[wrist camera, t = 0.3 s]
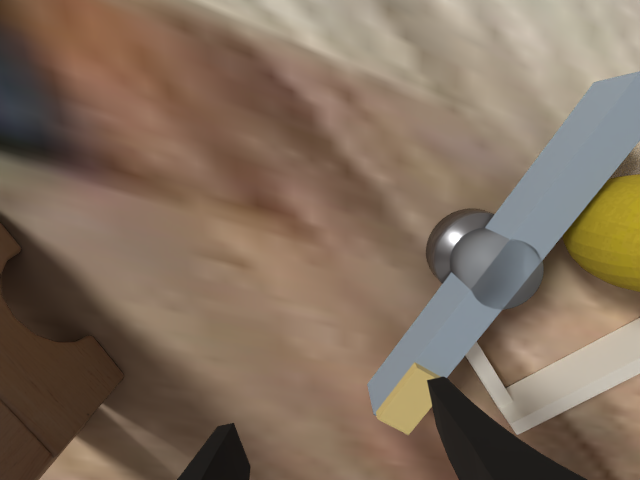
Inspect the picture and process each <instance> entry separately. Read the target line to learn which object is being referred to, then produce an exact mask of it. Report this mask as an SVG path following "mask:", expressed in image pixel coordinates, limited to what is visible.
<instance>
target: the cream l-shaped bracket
mask: <svg viewBox="0 0 640 480" xmlns="http://www.w3.org/2000/svg"><path fill="white" fill-rule="evenodd" d="M465 356H466V358H467V359H468V361H469V363H470V364H471V366H472V367H473V369H474V371H475V372H476V374H477V375H478V377H479V379H480V380H481V382H482V383H483V385H484V386H485V388H486V390H487V391H488V393H489V394H490V396H491V398H492V399H493V401H494V402H495V404H496V406H497V407H498V409H499V410H500V411H501V413H502V414H503V416H504V417H505V419H506V420H507V421H508V423H509V424H510V426H511V427H512V429H513V430H514V432H515V433H516V434H517V435H518V434H520V433H522V432H524V431H526V430H528V429H530V428H532V427H534V426H536V425H538V424H540V423H542V422H544V421H546V420H548V419H550V418H552V417H554V416H556V415H558V414H560V413H562V412H564V411H566V410H568V409H570V408H572V407H574V406H576V405H578V404H580V403H582V402H584V401H586V400H588V399H590V398H592V397H594V396H596V395H598V394H600V393H602V392H604V391H606V390H608V389H610V388H612V387H614V386H616V385H618V384H620V383H622V382H624V381H626V380H628V379H630V378H632V377H634V376H636V375H638V374H640V318H638V319H636V320H634V321H632V322H631V323H629V324H627V325H625V326H623V327H621V328H619V329H617V330H615V331H613V332H612V333H610V334H608V335H606V336H604V337H602V338H600V339H598V340H596V341H594V342H593V343H591V344H589V345H587V346H585V347H583V348H581V349H579V350H577V351H575V352H573V353H572V354H570V355H568V356H566V357H564V358H562V359H560V360H558V361H556V362H554V363H553V364H551V365H549V366H547V367H545V368H543V369H541V370H539V371H537V372H535V373H534V374H532V375H530V376H528V377H526V378H524V379H522V380H520V381H518V382H516V383H515V384H513V385H511V386H509V387H507V388H505V387H504V385H503V384H502V382H501V381H500V379H499V377H498V376H497V374H496V372H495V371H494V369H493V367H492V366H491V364H490V363H489V361H488V359H487V358H486V356H485V354H484V353H483V351H482V349H481V348H480V346H479V345H478V343H477V341H476V343H475V344H474V345H473V346H472V347H471V349H470V350H469V351H468V352H467V354H466V355H465Z"/></svg>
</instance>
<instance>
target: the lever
mask: <svg viewBox="0 0 640 480" xmlns="http://www.w3.org/2000/svg"><path fill="white" fill-rule="evenodd" d="M639 141H640V71H639V72H635V73H631V74H627V75H622V76H618V77H614V78H610V79H606V80H602V81H597V82H594V83H593V84H592V86H591V87H590V88H589V90H588V91H587V92H586V94H585V95H584V96H583V98H582V99H581V100H580V102H579V103H578V104H577V106H576V107H575V108H574V110H573V111H572V112H571V114H570V115H569V116H568V118H567V119H566V120H565V122H564V123H563V124H562V126H561V127H560V128H559V130H558V131H557V132H556V134H555V135H554V136H553V138H552V139H551V140H550V142H549V143H548V144H547V146H546V147H545V148H544V150H543V151H542V152H541V154H540V155H539V156H538V158H537V159H536V160H535V162H534V163H533V164H532V166H531V167H530V168H529V170H528V171H527V172H526V174H525V175H524V176H523V178H522V179H521V180H520V182H519V183H518V184H517V186H516V187H515V188H514V190H513V191H512V192H511V194H510V195H509V196H508V198H507V199H506V200H505V202H504V203H503V204H502V206H501V207H500V208H499V210H498V211H497V212H496V214H495V215H494V216H493V218H492V219H491V220H490V222H489V223H488V224H487V226H486V227H485V228H479V229H475V230H472V231H470V232H468V233H467V234H465V235H464V236H462V237H461V238H460V239H459V240H458V241H457V243H456V244H455V246H454V247H453V249H452V252H451V255H450V269H451V273H450V275H449V276H448V277H447V279H446V280H445V281H444V283H443V284H442V285H441V287H440V288H439V289H438V291H437V292H436V293H435V295H434V296H433V297H432V299H431V300H430V301H429V303H428V304H427V305H426V307H425V308H424V309H423V311H422V312H421V313H420V315H419V316H418V317H417V319H416V320H415V321H414V323H413V324H412V325H411V327H410V328H409V329H408V331H407V332H406V333H405V335H404V336H403V337H402V339H401V340H400V341H399V343H398V344H397V345H396V347H395V348H394V349H393V351H392V352H391V353H390V355H389V356H388V357H387V359H386V360H385V361H384V363H383V364H382V365H381V367H380V368H379V369H378V371H377V372H376V373H375V375H374V376H373V377H372V379H371V380H370V381H369V383H368V384H367V385H368V390H369V395H370V399H371V404H372V409H373V413H374V415H375V416H377V419H378V420H380V421H382V422H384V423H386V424H388V425H390V426H392V427H394V428H396V429H398V430H399V431H401V432H403V433H405V434H407V435H409V434H410V433H411V431H412V430H413V429H414V428H415V427H416V425H417V424H418V423H419V422H420V420H421V419H422V418H423V417H424V416H425V414H426V413H427V412H428V411H429V409H430V408H431V407H432V402H431V398H430V393H429V388H428V383H427V380H430V379H434V378H439V377H443V376H444V377H446V378H447V377H448V376H449V375H450V373H451V372H452V371H453V370H454V368H455V367H456V366H457V365H458V363H459V362H460V361H461V360H462V359H463V357H464V356H465V355H466V354H467V352H468V351H469V350H470V349H471V347H472V346H473V345H474V344H475V343H476V341H477V340H478V339H479V338H480V336H481V335H482V334H483V333H484V331H485V330H486V329H487V328H488V327H489V325H490V324H491V323H492V322H493V320H494V319H495V318H496V317H497V315H498V314H499V313H500V312H501V311H502V309H509V308H513V307H516V306H518V305H520V304H522V303H524V302H526V301H527V300H528V299H529V298H531V297H532V296H533V295H534V293H535V292H536V291H537V289H538V288H539V286H540V284H541V281H542V278H543V271H544V268H543V262H542V260H543V259H544V258H545V256H546V255H547V254H548V253H549V252H550V250H551V249H552V248H553V247H554V245H555V244H556V243H557V242H558V240H559V239H560V238H561V237H562V236H563V234H564V233H565V232H566V231H567V229H568V228H569V227H570V226H571V224H572V223H573V222H574V221H575V220H576V218H577V217H578V216H579V215H580V213H581V212H582V211H583V210H584V208H585V207H586V206H587V205H588V204H589V202H590V201H591V200H592V199H593V197H594V196H595V195H596V194H597V192H598V191H599V190H600V189H601V188H602V186H603V185H604V184H605V183H606V181H607V180H608V179H609V178H610V176H611V175H612V174H613V173H614V172H615V170H616V169H617V168H618V167H619V165H620V164H621V163H622V162H623V160H624V159H625V158H626V157H627V156H628V154H629V153H630V152H631V151H632V149H633V148H634V147H635V146H636V144H637V143H638V142H639Z"/></svg>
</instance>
